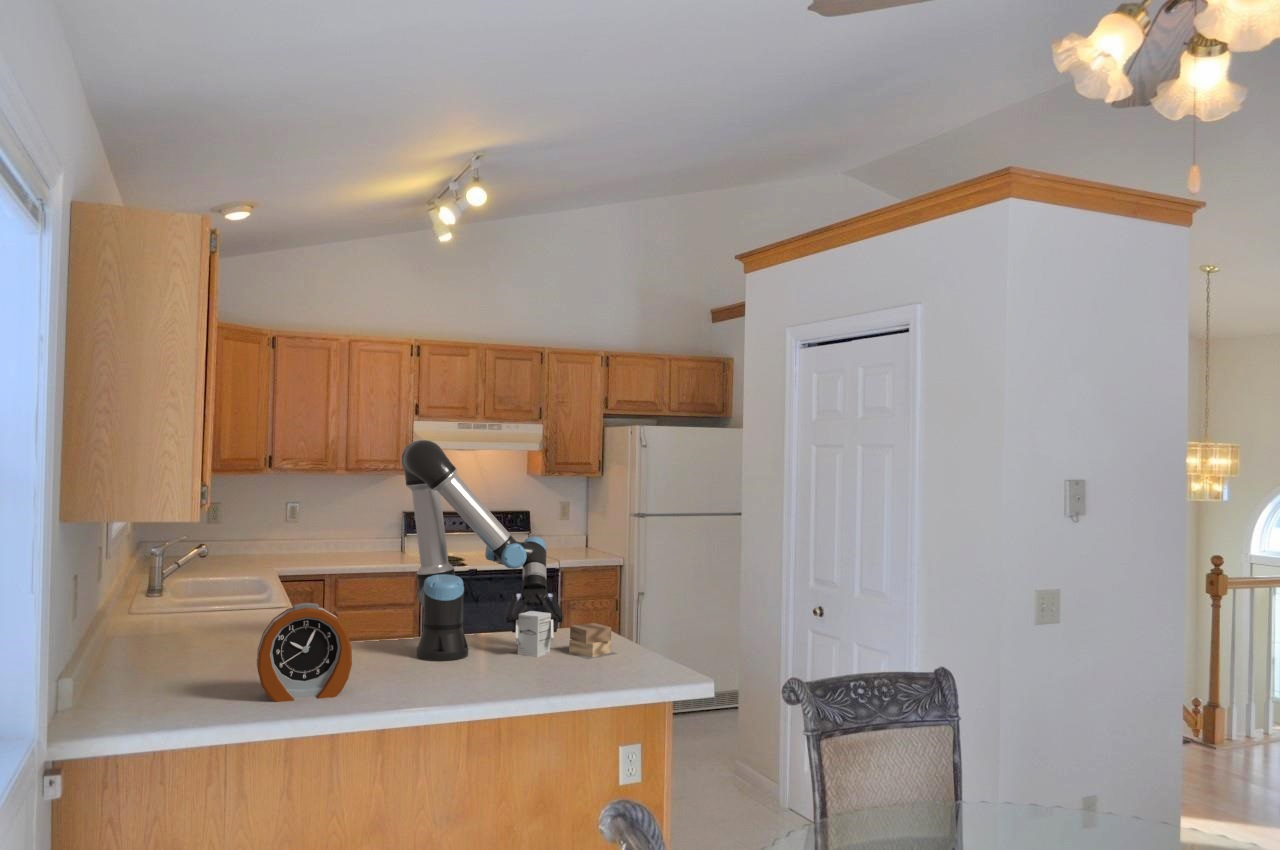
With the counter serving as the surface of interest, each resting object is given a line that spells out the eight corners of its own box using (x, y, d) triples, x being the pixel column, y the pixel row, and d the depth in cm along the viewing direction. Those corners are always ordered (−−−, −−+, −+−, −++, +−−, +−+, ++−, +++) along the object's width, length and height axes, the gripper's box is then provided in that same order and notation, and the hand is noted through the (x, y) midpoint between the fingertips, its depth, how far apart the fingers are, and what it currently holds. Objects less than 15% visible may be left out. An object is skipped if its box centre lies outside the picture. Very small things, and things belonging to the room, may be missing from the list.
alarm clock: (257, 703, 232) (259, 609, 233) (255, 694, 241) (258, 603, 242) (352, 695, 241) (354, 604, 242) (347, 686, 250) (349, 598, 251)
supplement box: (516, 656, 290) (517, 613, 290) (530, 651, 297) (531, 610, 297) (537, 658, 287) (538, 615, 287) (551, 654, 293) (551, 612, 294)
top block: (586, 643, 288) (586, 630, 288) (570, 638, 295) (570, 625, 295) (611, 640, 293) (611, 627, 293) (594, 635, 300) (594, 622, 300)
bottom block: (592, 657, 288) (592, 643, 288) (569, 653, 293) (569, 640, 293) (611, 652, 295) (611, 639, 295) (588, 648, 300) (588, 635, 300)
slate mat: (588, 660, 285) (588, 658, 285) (562, 653, 294) (562, 652, 294) (618, 654, 294) (618, 653, 294) (592, 648, 302) (592, 647, 302)
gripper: (569, 587, 309) (571, 647, 293) (498, 587, 306) (496, 648, 290) (570, 573, 304) (572, 632, 288) (498, 573, 301) (496, 633, 285)
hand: (534, 640), depth 289 cm, fingers closed on supplement box, 10 cm apart
